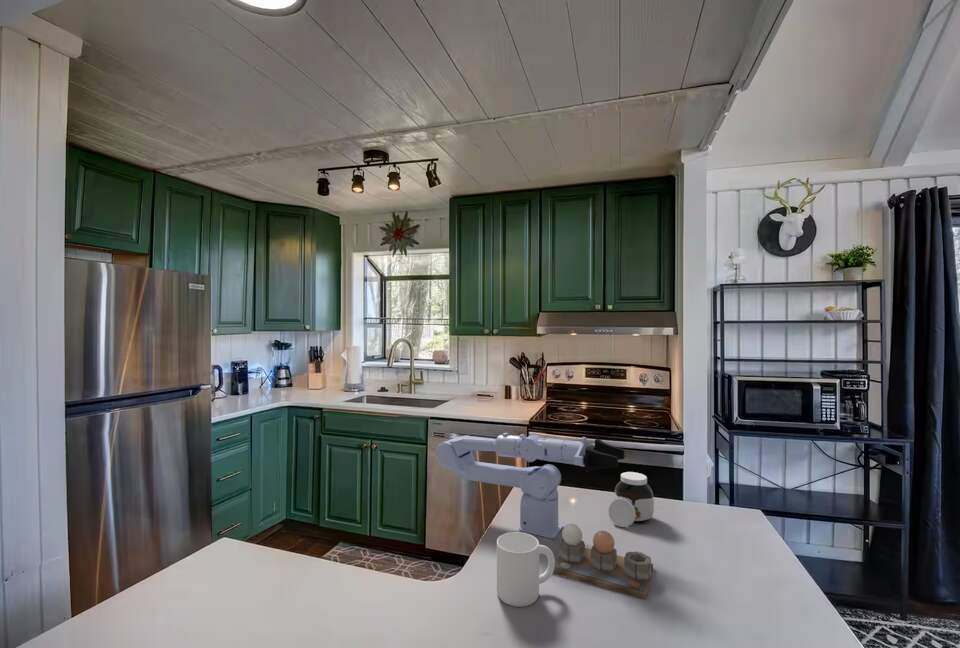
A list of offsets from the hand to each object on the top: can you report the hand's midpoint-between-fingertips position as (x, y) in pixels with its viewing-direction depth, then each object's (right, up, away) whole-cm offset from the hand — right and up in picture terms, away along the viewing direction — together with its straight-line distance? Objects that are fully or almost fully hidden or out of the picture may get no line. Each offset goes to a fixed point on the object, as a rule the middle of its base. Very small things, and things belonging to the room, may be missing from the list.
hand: (621, 458), depth 102 cm
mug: (-24, -21, -17) cm, 37 cm away
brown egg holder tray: (-7, -21, -10) cm, 24 cm away
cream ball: (-13, -16, -5) cm, 21 cm away
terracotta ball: (-7, -16, -9) cm, 19 cm away
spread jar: (+7, -22, +14) cm, 27 cm away
